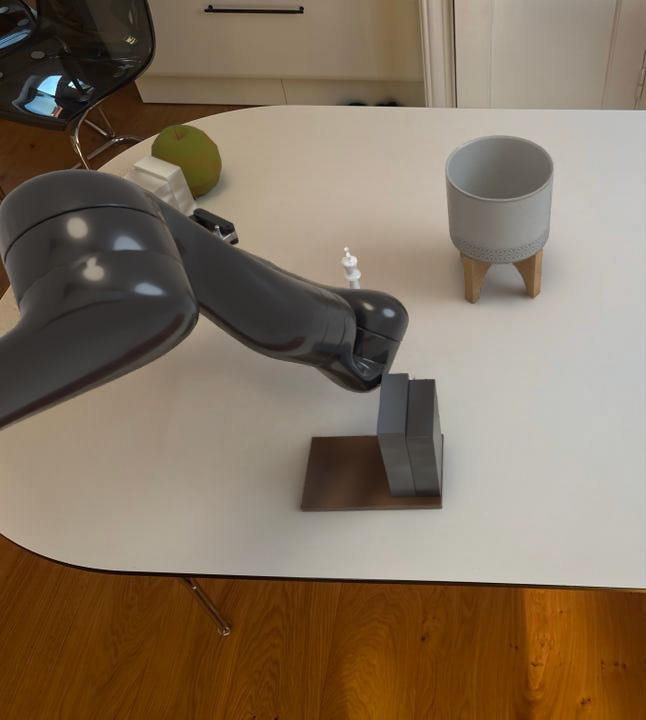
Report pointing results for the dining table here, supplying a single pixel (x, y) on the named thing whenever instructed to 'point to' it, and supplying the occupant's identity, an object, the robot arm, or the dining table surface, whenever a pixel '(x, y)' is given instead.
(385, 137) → the dining table surface
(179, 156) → the apple
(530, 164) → the planter
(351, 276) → the chess piece
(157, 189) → the white book stand
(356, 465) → the grey book stand
